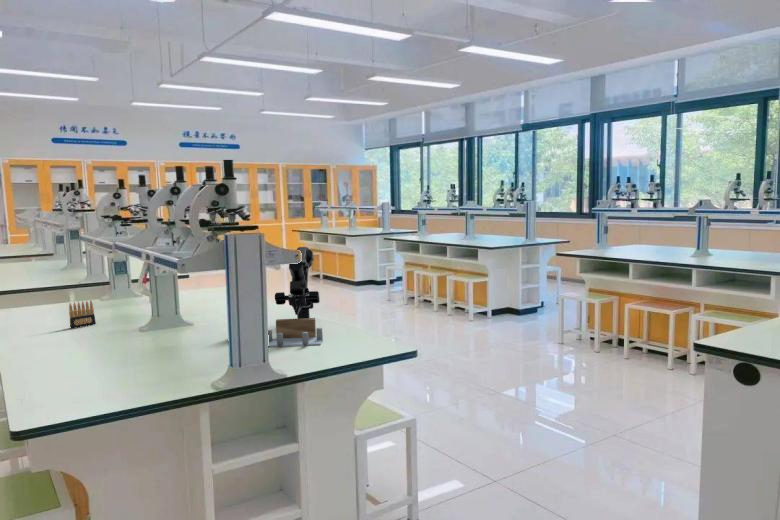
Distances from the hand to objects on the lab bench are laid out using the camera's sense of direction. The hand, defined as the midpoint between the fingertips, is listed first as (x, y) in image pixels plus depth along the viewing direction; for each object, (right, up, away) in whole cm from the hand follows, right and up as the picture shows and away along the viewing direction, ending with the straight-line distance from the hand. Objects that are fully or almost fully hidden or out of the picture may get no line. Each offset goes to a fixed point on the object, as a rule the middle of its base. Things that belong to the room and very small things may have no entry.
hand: (296, 314), depth 244 cm
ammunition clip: (-106, -9, +30) cm, 110 cm away
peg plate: (+1, -11, -10) cm, 15 cm away
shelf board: (0, -10, -3) cm, 10 cm away
